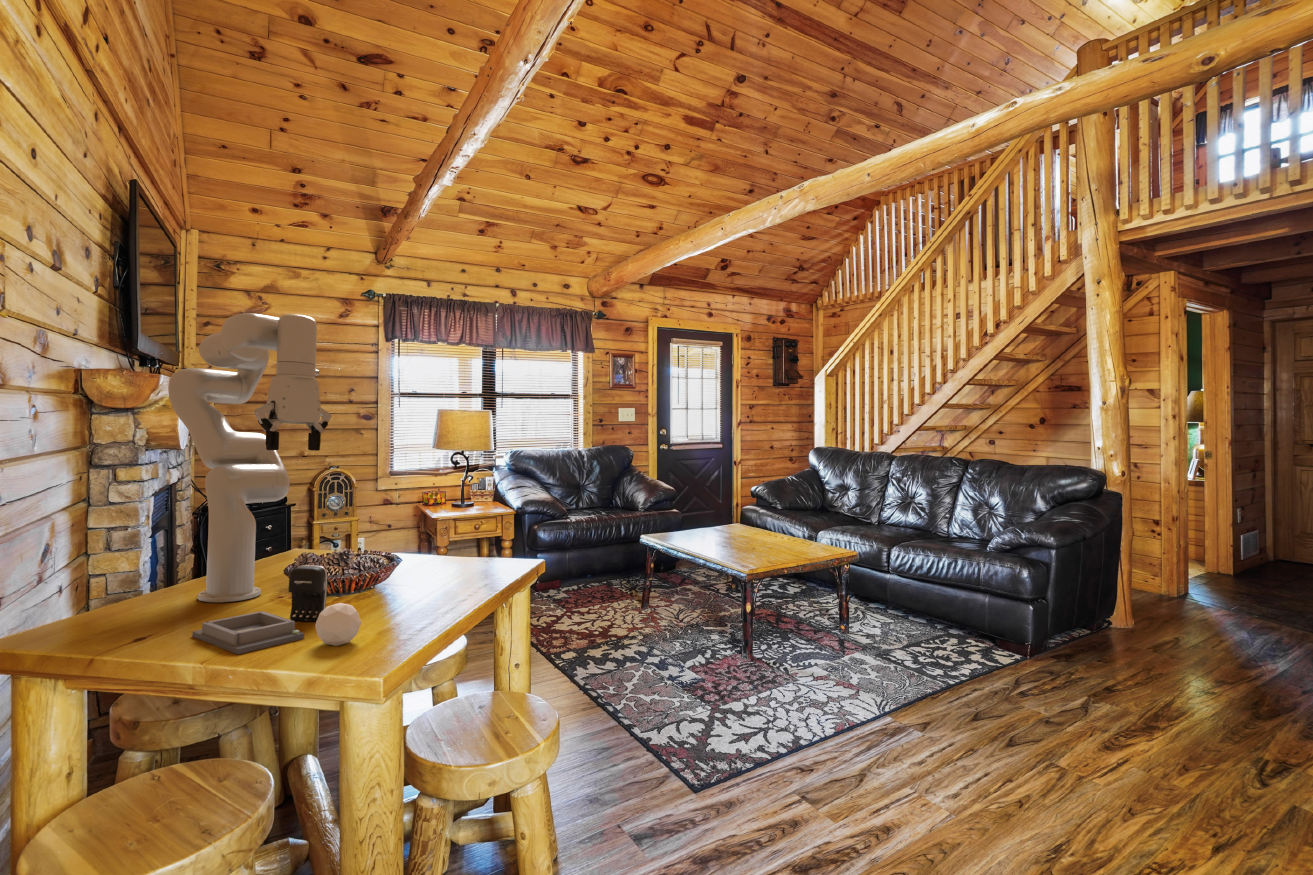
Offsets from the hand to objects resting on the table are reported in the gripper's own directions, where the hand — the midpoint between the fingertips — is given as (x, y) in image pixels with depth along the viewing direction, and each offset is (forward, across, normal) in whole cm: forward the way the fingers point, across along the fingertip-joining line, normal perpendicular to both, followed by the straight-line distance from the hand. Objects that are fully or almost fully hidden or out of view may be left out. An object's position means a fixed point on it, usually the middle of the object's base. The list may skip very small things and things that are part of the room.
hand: (293, 450), depth 142 cm
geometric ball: (+36, +8, +25) cm, 45 cm away
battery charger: (+36, +1, +7) cm, 37 cm away
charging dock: (+36, +14, +8) cm, 39 cm away
